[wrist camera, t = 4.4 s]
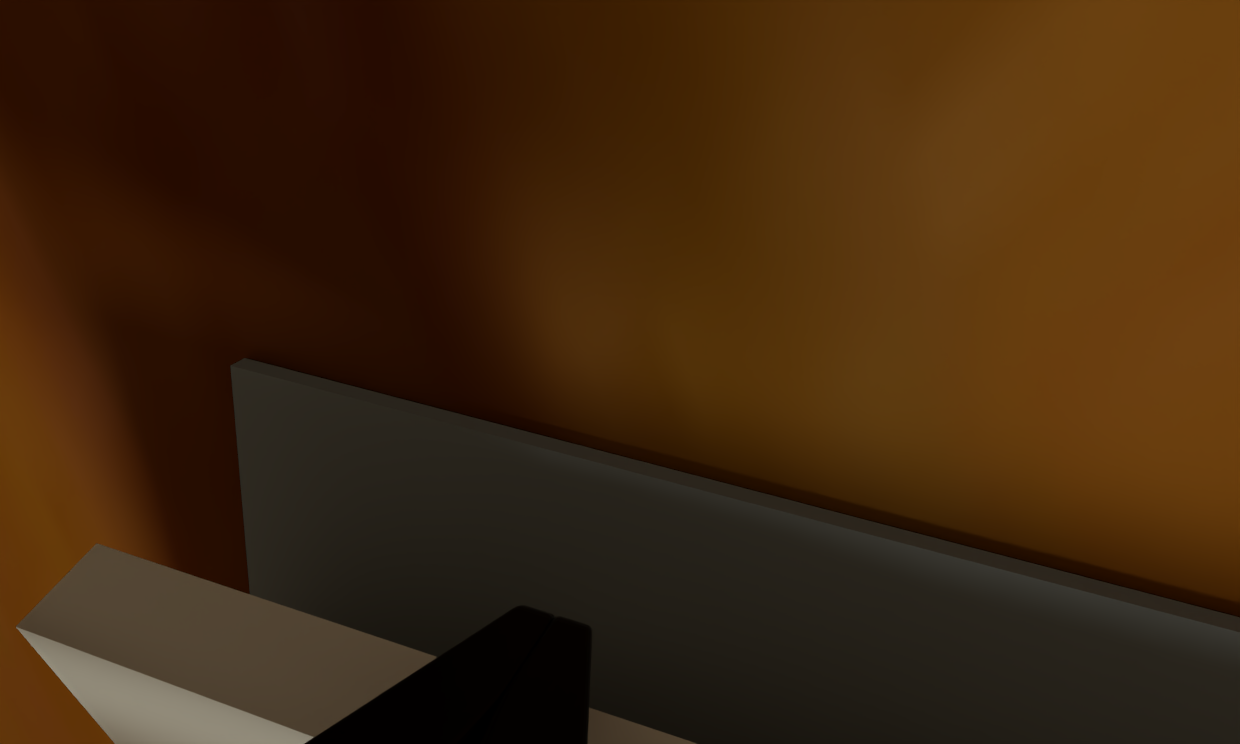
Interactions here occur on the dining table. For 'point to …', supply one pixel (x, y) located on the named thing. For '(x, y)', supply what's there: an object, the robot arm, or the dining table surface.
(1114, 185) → the dining table surface
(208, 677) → the plank
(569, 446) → the underlay mat
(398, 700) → the robot arm
